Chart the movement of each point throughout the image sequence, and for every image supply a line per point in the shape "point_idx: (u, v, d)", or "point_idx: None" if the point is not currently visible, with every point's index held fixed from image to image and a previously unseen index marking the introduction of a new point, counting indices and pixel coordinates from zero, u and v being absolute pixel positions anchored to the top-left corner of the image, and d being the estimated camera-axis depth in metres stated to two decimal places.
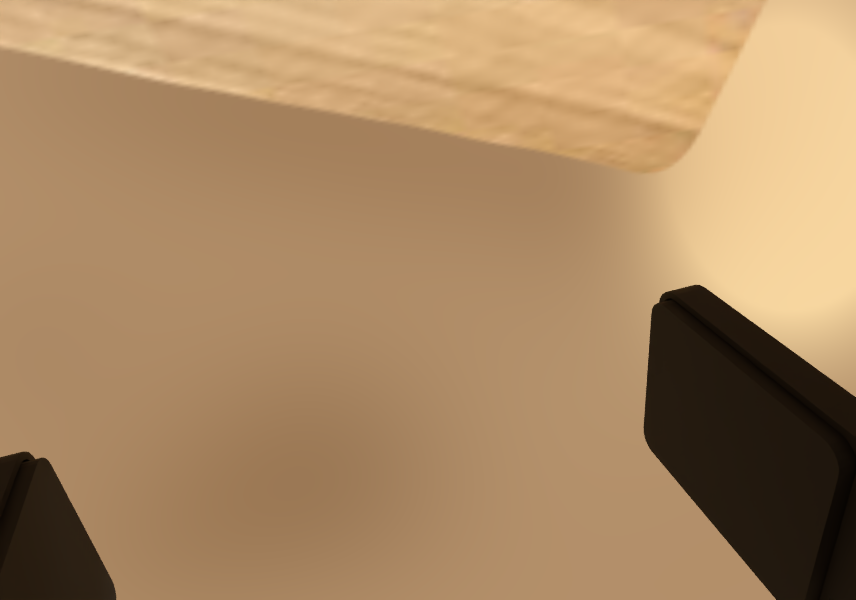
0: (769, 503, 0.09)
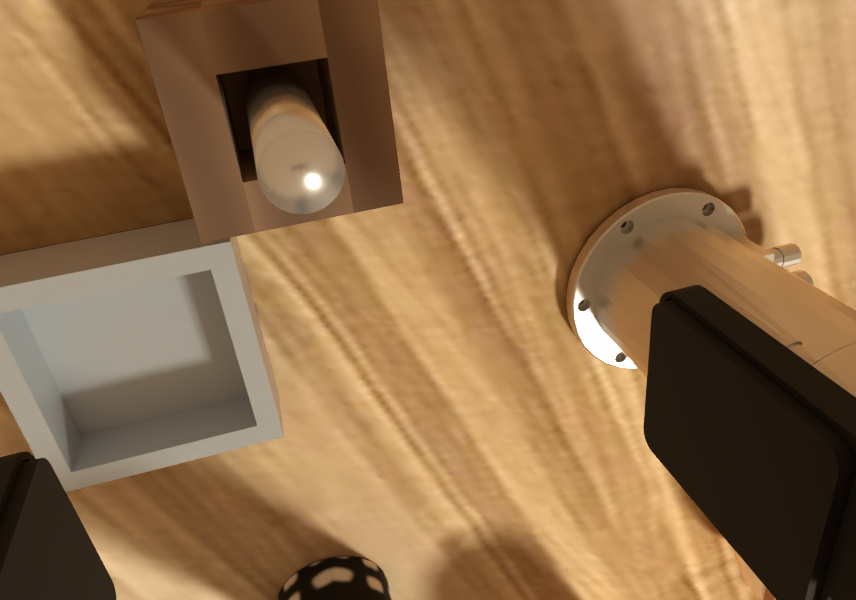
0: (769, 503, 0.09)
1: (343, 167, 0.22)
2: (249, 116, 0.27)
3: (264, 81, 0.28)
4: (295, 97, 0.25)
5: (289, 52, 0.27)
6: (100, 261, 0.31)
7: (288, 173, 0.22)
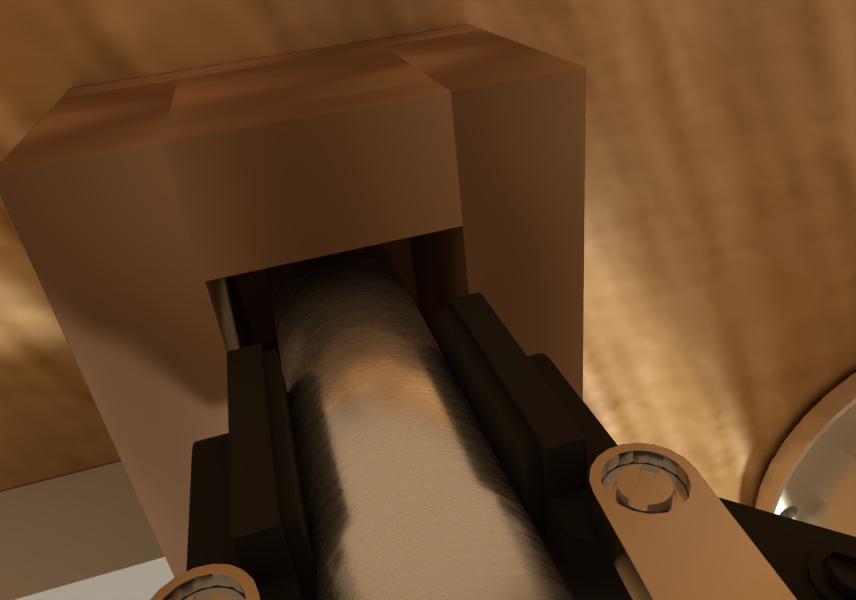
0: None
1: None
2: (284, 365, 0.12)
3: (311, 258, 0.13)
4: (404, 351, 0.10)
5: (378, 222, 0.11)
6: None
7: None
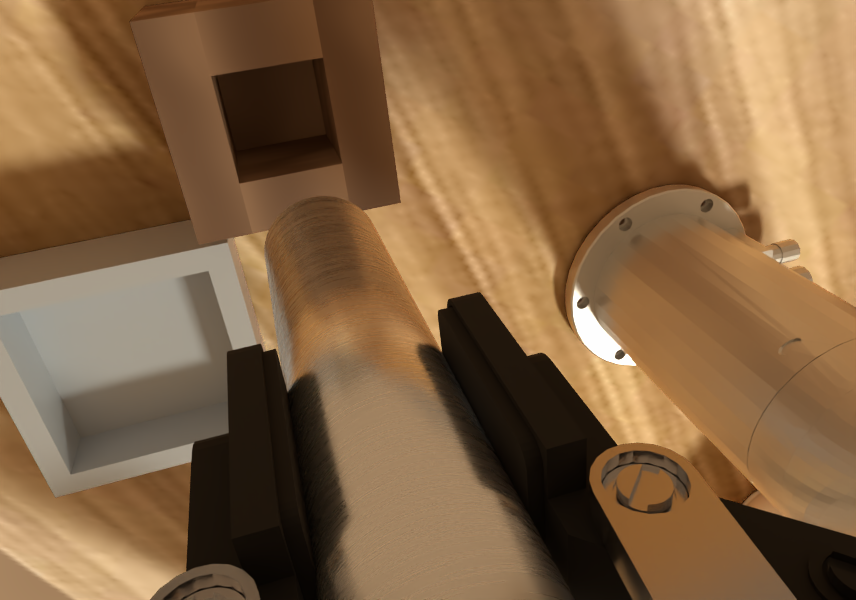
0: None
1: None
2: (284, 364, 0.12)
3: (311, 257, 0.13)
4: (404, 350, 0.10)
5: (284, 53, 0.26)
6: (97, 263, 0.31)
7: None
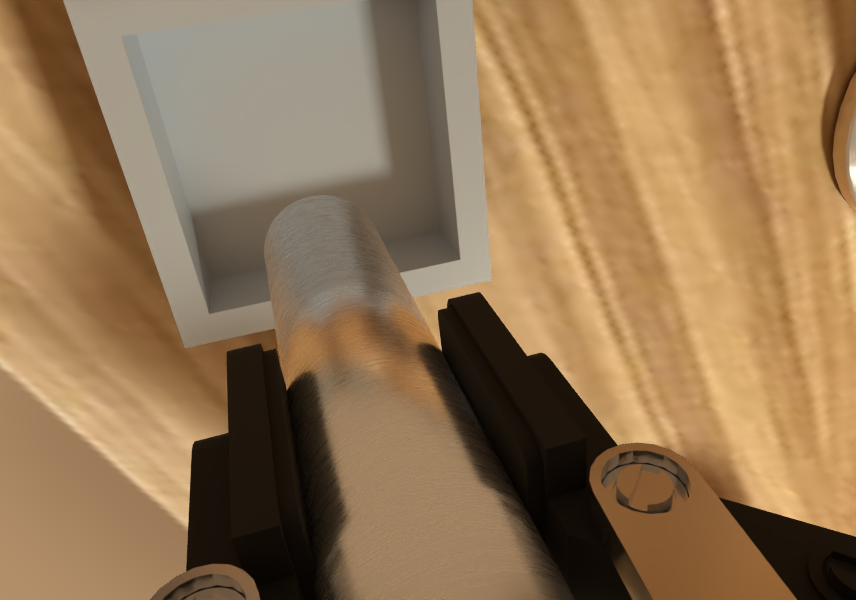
0: None
1: None
2: (283, 363, 0.12)
3: (311, 256, 0.13)
4: (403, 350, 0.10)
5: None
6: None
7: None
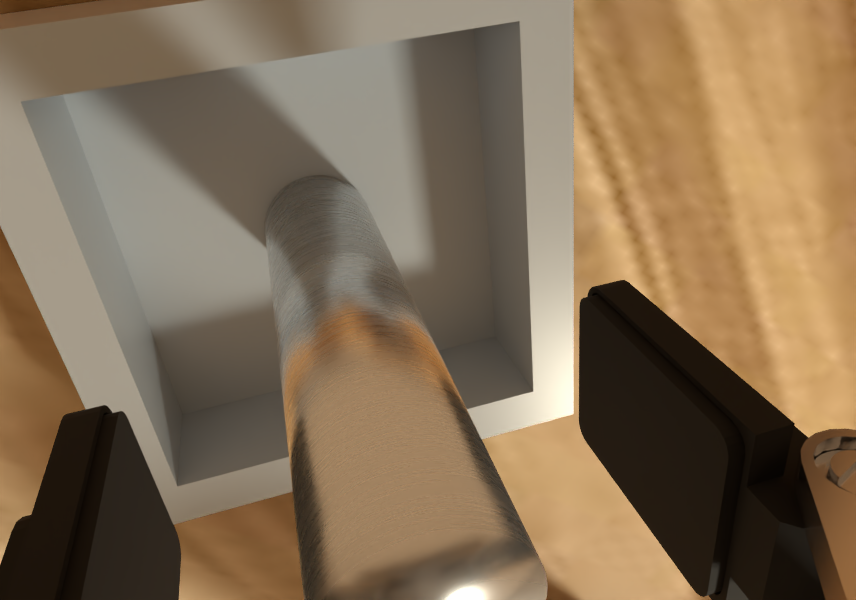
0: (677, 489, 0.09)
1: (543, 590, 0.08)
2: (276, 321, 0.13)
3: (304, 227, 0.14)
4: (381, 305, 0.11)
5: None
6: None
7: None
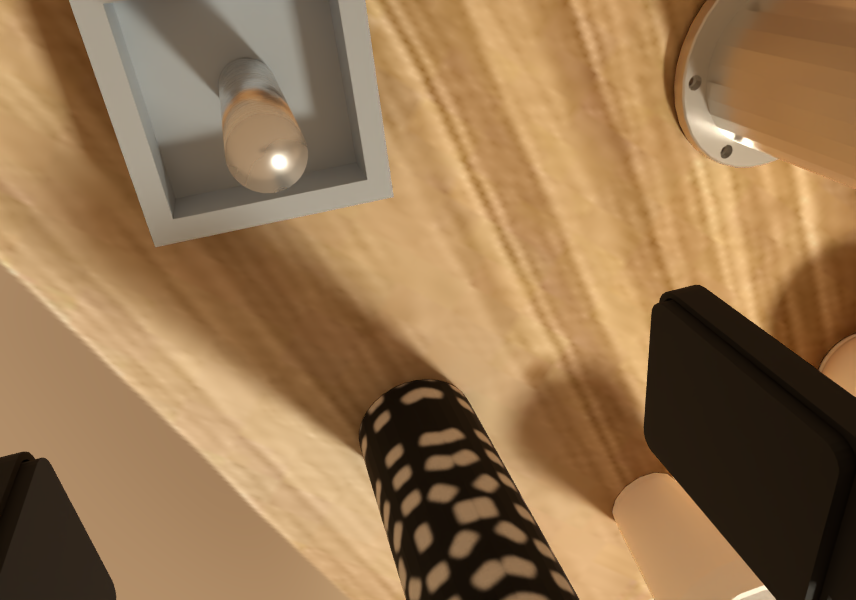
0: (768, 503, 0.09)
1: (306, 148, 0.24)
2: (220, 104, 0.28)
3: (235, 71, 0.30)
4: (263, 85, 0.27)
5: None
6: None
7: (254, 154, 0.23)
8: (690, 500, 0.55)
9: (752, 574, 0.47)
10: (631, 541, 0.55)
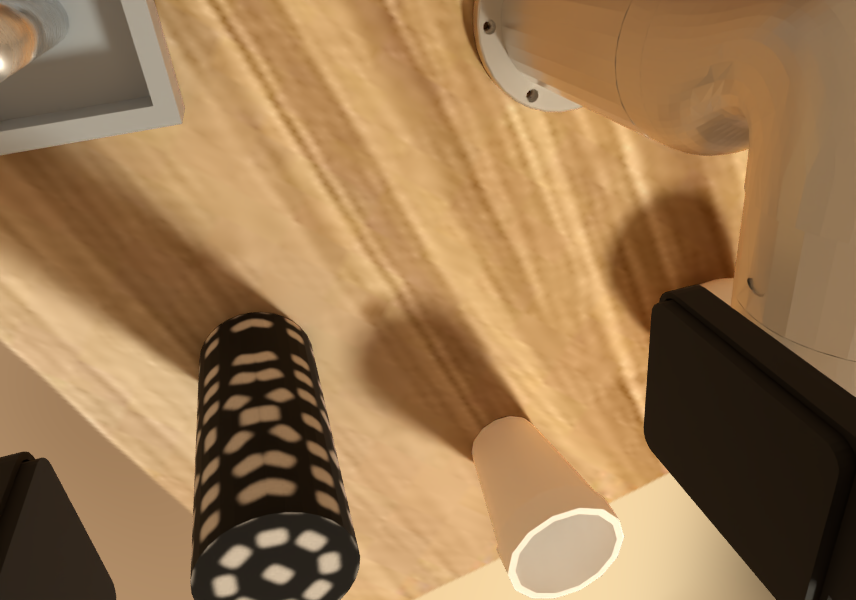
0: (769, 504, 0.09)
1: (9, 47, 0.26)
2: None
3: None
4: (6, 2, 0.30)
5: None
6: None
7: None
8: (536, 439, 0.57)
9: (568, 499, 0.49)
10: (480, 478, 0.58)
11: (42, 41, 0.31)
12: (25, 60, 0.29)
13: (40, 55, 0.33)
